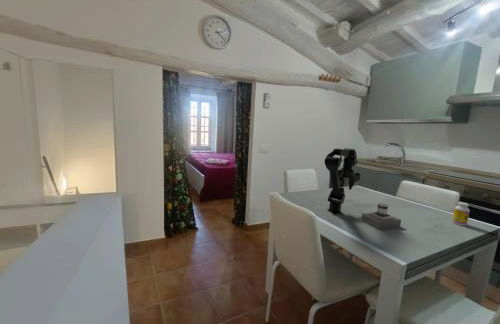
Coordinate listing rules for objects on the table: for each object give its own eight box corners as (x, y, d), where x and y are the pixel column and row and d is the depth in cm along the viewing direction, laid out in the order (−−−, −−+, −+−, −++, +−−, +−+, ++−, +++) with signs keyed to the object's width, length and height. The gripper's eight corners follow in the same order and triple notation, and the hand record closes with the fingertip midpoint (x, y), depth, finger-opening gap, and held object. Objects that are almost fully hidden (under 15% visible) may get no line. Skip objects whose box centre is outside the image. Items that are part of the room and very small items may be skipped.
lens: (381, 219, 128) (383, 207, 126) (374, 215, 132) (375, 203, 131) (388, 218, 129) (390, 206, 128) (380, 214, 134) (382, 203, 133)
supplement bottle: (463, 226, 133) (468, 205, 131) (449, 222, 139) (453, 202, 137) (468, 225, 136) (473, 204, 134) (454, 220, 142) (458, 200, 140)
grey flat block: (379, 229, 123) (380, 219, 122) (361, 220, 134) (362, 211, 133) (400, 226, 129) (401, 217, 128) (381, 218, 140) (382, 209, 139)
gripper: (345, 170, 142) (342, 194, 144) (367, 169, 148) (364, 192, 151) (332, 166, 152) (330, 189, 154) (354, 166, 158) (352, 188, 161)
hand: (344, 190), depth 155 cm, fingers open, 9 cm apart
